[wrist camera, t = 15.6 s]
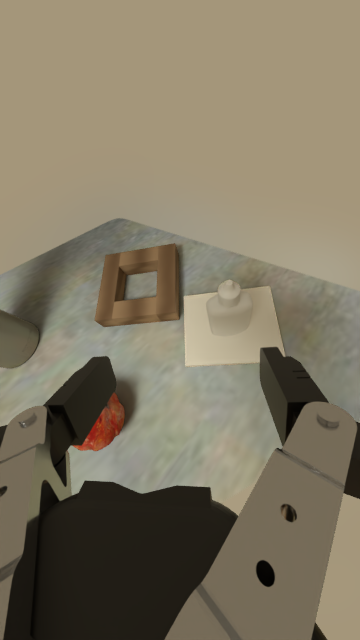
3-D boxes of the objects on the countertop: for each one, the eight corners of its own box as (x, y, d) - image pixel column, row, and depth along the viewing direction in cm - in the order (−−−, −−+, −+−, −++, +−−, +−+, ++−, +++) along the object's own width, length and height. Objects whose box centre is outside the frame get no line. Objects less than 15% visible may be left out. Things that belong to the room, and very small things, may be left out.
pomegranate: (114, 452, 31) (144, 424, 26) (59, 473, 26) (82, 443, 21) (104, 404, 35) (127, 372, 30) (54, 415, 30) (72, 378, 25)
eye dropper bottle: (215, 309, 33) (209, 260, 22) (251, 317, 31) (263, 269, 21) (206, 333, 32) (196, 294, 21) (243, 344, 30) (252, 307, 19)
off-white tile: (186, 367, 31) (185, 366, 31) (184, 298, 36) (183, 296, 35) (284, 361, 29) (286, 360, 28) (268, 288, 33) (269, 285, 33)
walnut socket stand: (104, 326, 37) (94, 320, 35) (113, 264, 43) (105, 255, 40) (179, 319, 35) (175, 312, 32) (178, 254, 40) (175, 243, 38)
